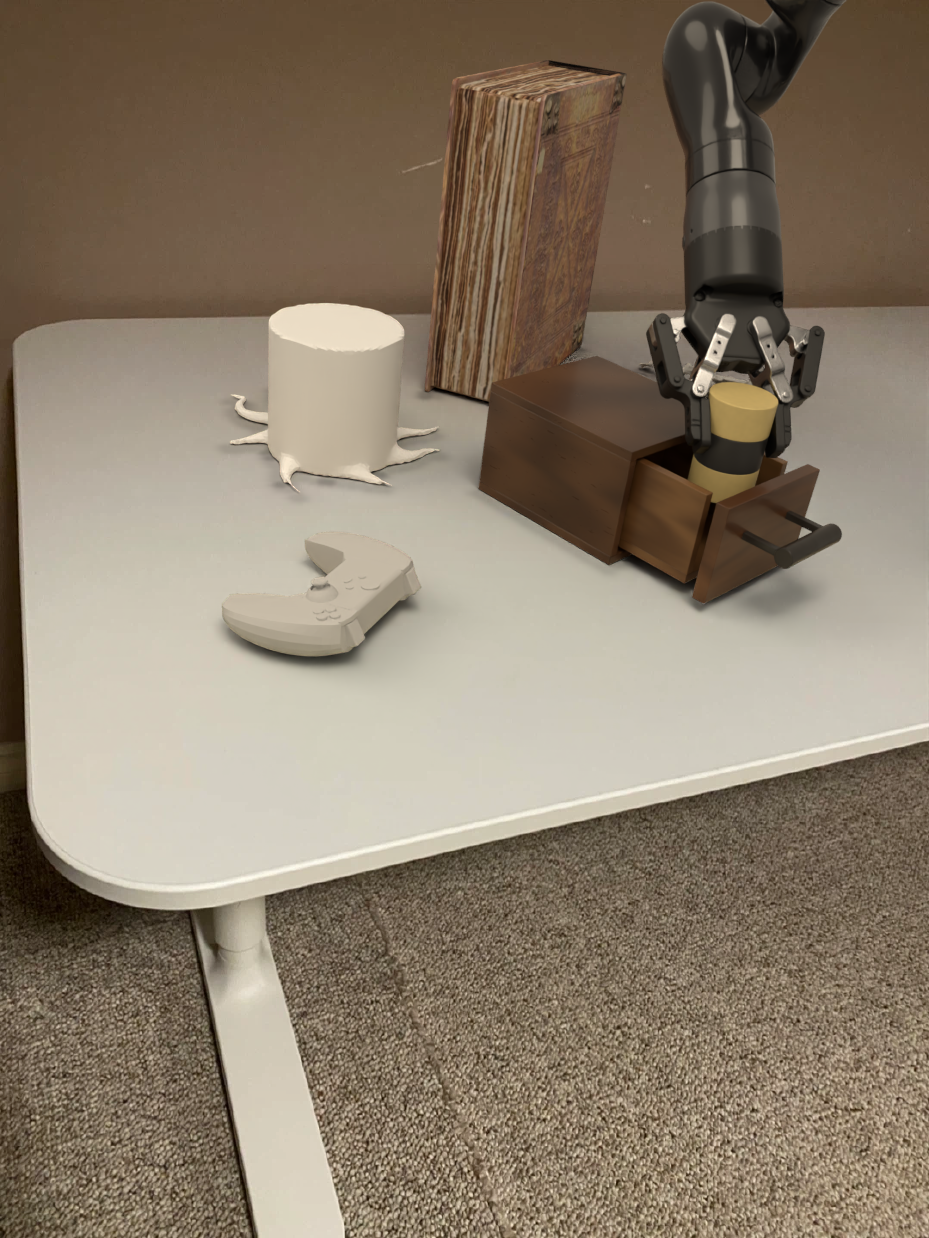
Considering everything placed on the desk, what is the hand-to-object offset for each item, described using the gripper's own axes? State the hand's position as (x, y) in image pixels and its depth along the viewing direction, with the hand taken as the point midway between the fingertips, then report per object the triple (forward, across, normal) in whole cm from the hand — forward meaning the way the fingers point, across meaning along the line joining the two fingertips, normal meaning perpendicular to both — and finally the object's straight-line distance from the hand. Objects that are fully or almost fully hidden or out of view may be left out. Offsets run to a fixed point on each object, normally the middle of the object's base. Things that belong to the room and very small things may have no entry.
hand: (739, 451), depth 82 cm
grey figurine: (-21, +10, +37) cm, 44 cm away
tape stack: (+2, 0, +4) cm, 5 cm away
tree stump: (-7, -32, +23) cm, 40 cm away
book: (-23, -11, +39) cm, 47 cm away
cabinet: (0, -7, +16) cm, 17 cm away
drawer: (+6, 0, +9) cm, 10 cm away
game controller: (+14, -30, +2) cm, 33 cm away
